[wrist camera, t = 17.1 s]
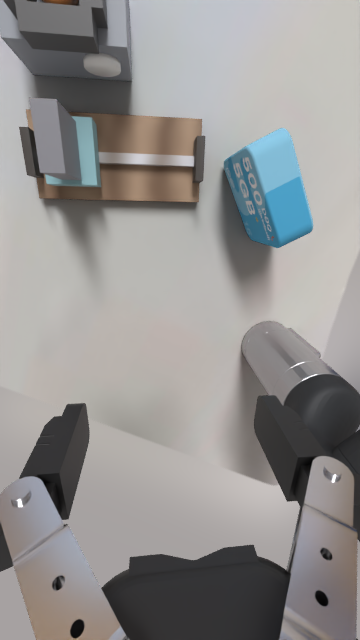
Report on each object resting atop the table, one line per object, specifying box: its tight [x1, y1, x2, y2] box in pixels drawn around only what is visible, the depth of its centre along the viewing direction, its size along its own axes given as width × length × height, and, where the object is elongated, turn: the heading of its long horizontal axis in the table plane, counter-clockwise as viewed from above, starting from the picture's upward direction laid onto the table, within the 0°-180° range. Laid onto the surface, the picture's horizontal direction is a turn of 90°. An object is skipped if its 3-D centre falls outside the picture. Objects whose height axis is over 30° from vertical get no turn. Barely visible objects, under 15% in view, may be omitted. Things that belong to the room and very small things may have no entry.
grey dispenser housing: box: [0, 0, 132, 81], centre depth 28 cm, size 12×8×11 cm
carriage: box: [29, 97, 101, 187], centre depth 31 cm, size 6×7×10 cm
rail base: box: [19, 109, 205, 202], centre depth 36 cm, size 22×10×4 cm, turn 89°
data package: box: [224, 128, 313, 248], centre depth 36 cm, size 12×4×12 cm, turn 25°
